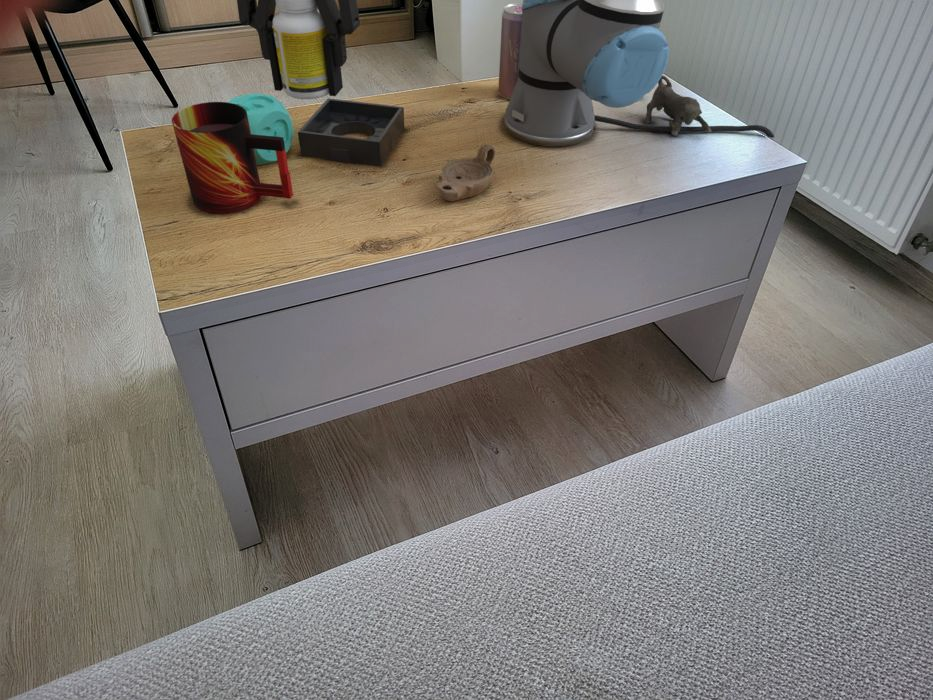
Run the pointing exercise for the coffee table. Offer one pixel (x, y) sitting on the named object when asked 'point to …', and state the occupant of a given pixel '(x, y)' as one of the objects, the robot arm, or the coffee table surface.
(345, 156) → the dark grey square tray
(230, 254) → the coffee table surface
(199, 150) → the mug
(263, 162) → the decorative dice
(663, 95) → the dog figurine
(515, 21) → the beverage can
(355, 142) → the dark grey storage tray
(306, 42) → the pill bottle
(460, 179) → the oil lamp
